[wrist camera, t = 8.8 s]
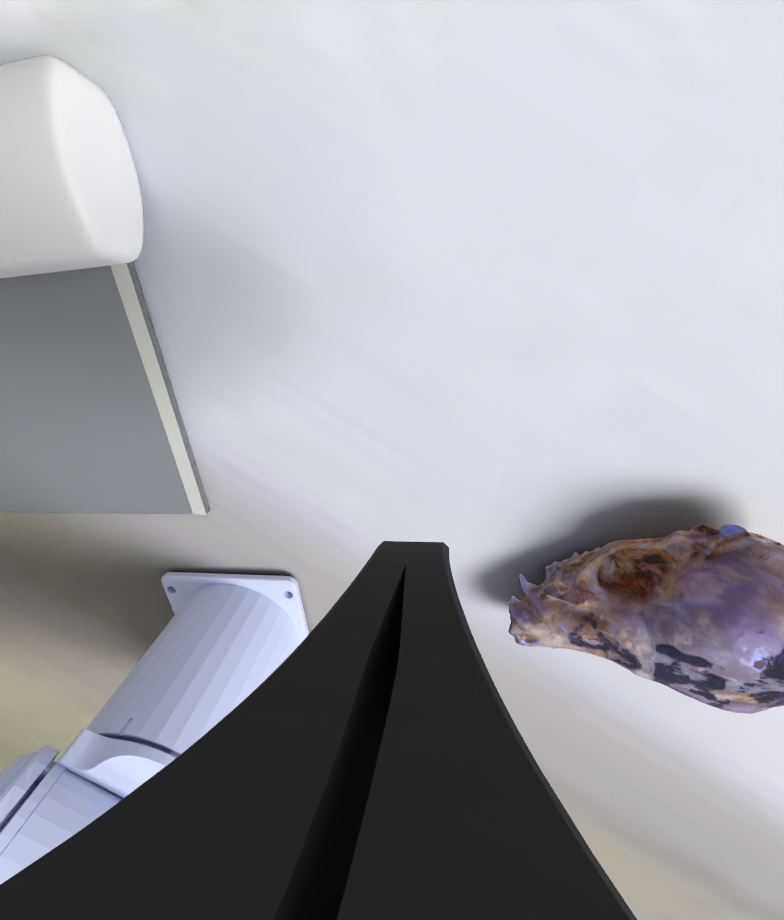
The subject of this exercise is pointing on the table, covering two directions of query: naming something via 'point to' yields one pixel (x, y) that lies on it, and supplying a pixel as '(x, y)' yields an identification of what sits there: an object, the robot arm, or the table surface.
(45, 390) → the mat
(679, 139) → the table surface
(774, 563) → the skull
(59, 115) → the eye dropper bottle
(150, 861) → the robot arm
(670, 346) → the table surface
